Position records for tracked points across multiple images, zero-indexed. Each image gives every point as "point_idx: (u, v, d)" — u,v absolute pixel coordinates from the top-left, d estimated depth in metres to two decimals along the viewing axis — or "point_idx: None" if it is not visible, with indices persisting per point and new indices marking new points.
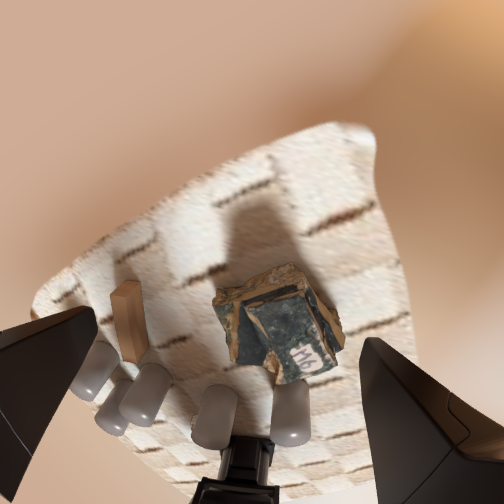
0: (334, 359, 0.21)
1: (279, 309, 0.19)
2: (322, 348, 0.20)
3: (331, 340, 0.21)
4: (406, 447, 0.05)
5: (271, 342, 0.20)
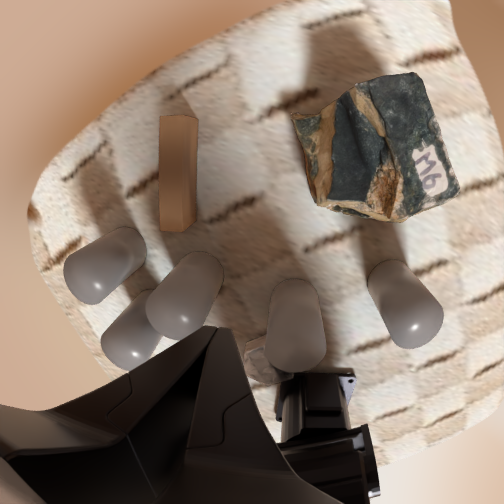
0: None
1: (396, 86, 0.12)
2: (446, 156, 0.13)
3: None
4: None
5: (389, 135, 0.13)
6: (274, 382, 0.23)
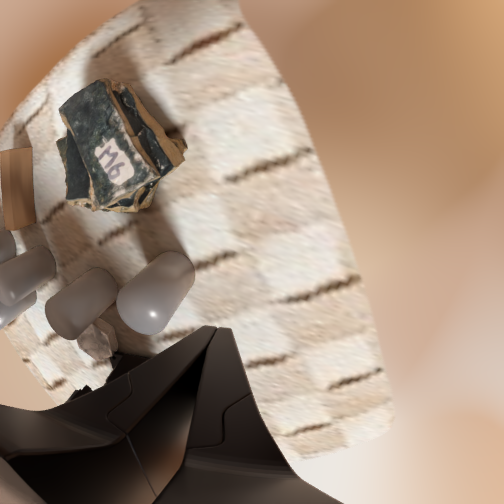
0: (150, 165, 0.16)
1: (81, 99, 0.14)
2: (129, 144, 0.15)
3: (153, 149, 0.17)
4: None
5: (77, 142, 0.15)
6: (100, 358, 0.25)
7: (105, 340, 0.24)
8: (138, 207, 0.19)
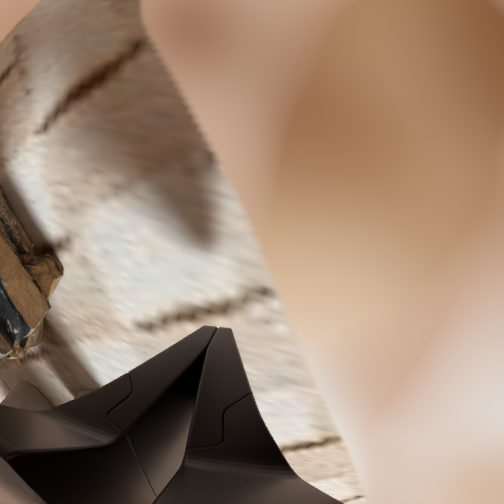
0: None
1: None
2: None
3: (1, 304, 0.09)
4: None
5: None
6: None
7: None
8: (22, 352, 0.11)
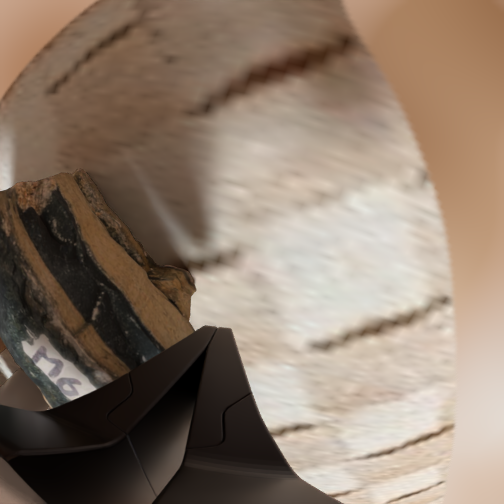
0: None
1: None
2: (77, 352, 0.07)
3: (131, 336, 0.08)
4: None
5: None
6: None
7: None
8: None
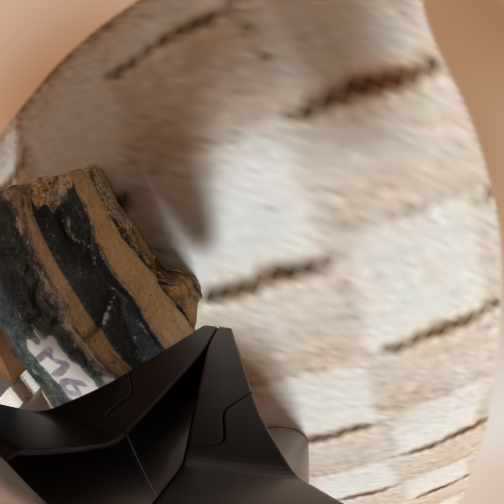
0: None
1: None
2: (87, 356, 0.07)
3: (139, 342, 0.08)
4: None
5: None
6: None
7: None
8: None
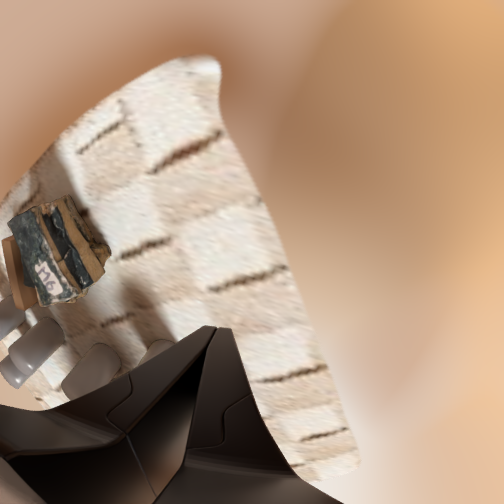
0: (73, 286, 0.19)
1: (20, 223, 0.17)
2: (57, 268, 0.18)
3: (78, 268, 0.20)
4: None
5: (22, 256, 0.18)
6: None
7: None
8: (75, 299, 0.22)
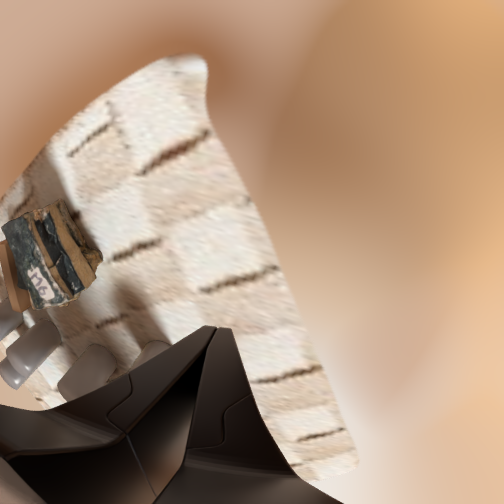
0: (65, 292, 0.19)
1: (13, 228, 0.17)
2: (48, 274, 0.18)
3: (69, 273, 0.20)
4: None
5: (15, 261, 0.18)
6: None
7: None
8: (67, 303, 0.22)
